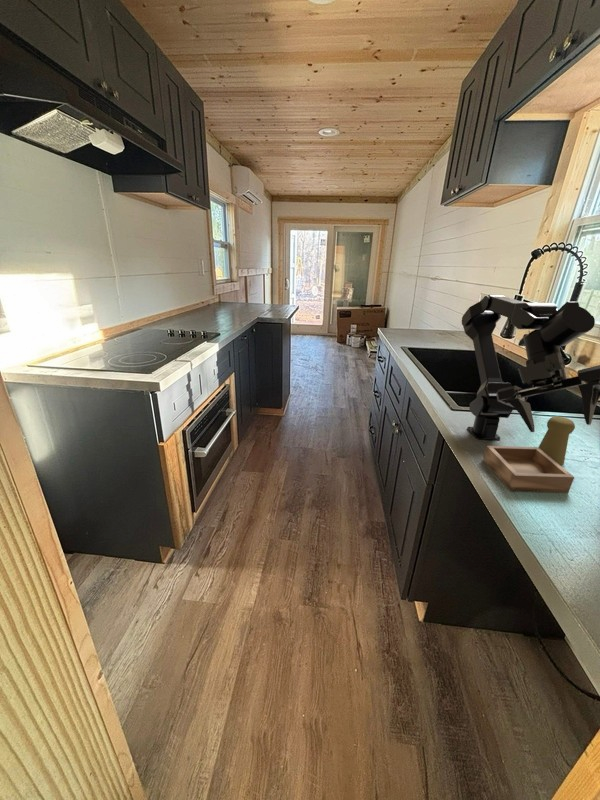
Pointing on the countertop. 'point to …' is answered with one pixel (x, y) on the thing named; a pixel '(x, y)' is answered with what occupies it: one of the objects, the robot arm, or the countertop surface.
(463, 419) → the countertop surface
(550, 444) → the cork
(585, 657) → the countertop surface
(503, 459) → the box
